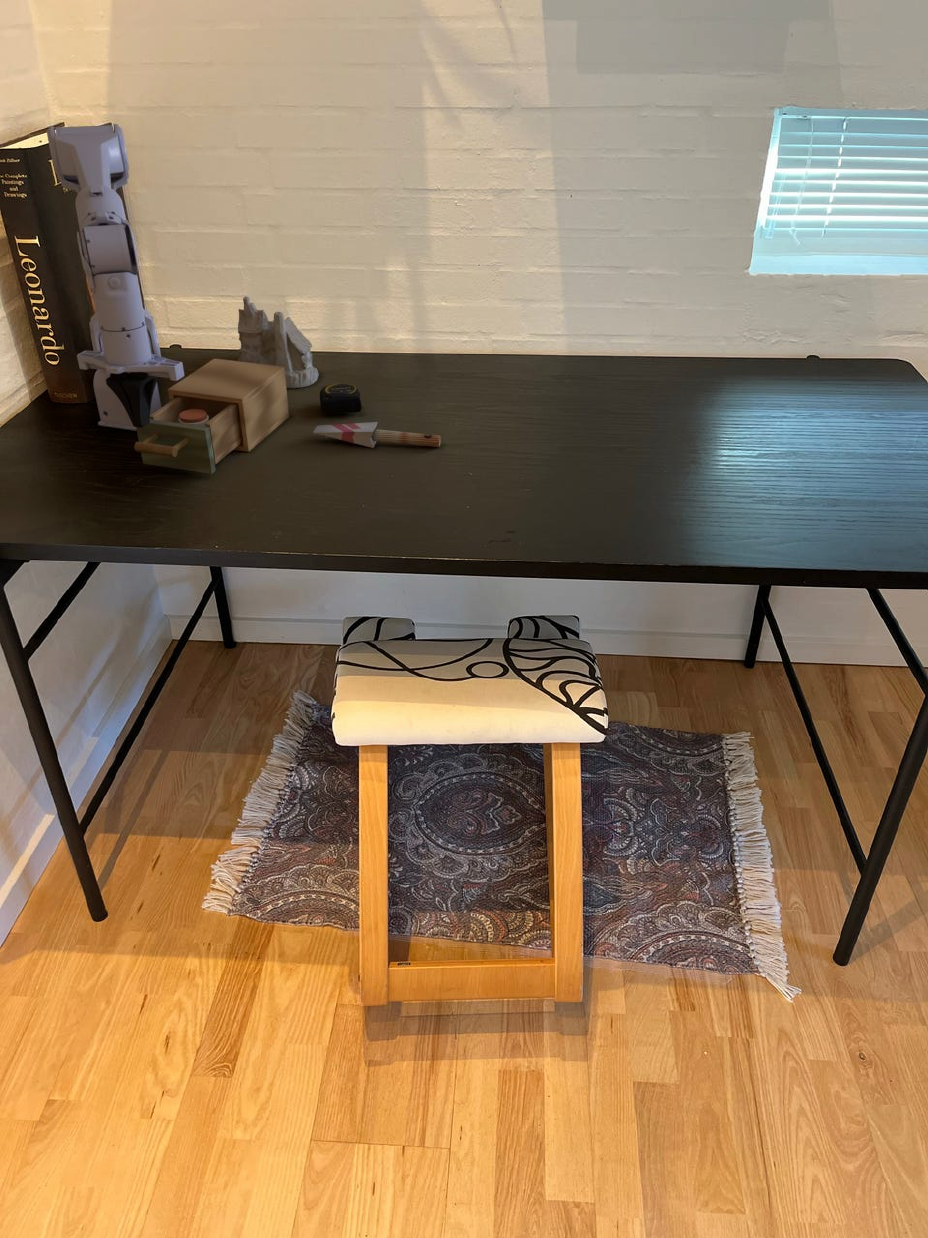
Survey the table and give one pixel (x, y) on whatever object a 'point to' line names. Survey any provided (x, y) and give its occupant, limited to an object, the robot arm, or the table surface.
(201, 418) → the paint pot
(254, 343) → the ceramic cottage
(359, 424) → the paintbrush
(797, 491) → the table surface
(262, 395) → the cabinet
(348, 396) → the tape measure
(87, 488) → the table surface
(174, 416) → the drawer
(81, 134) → the robot arm
